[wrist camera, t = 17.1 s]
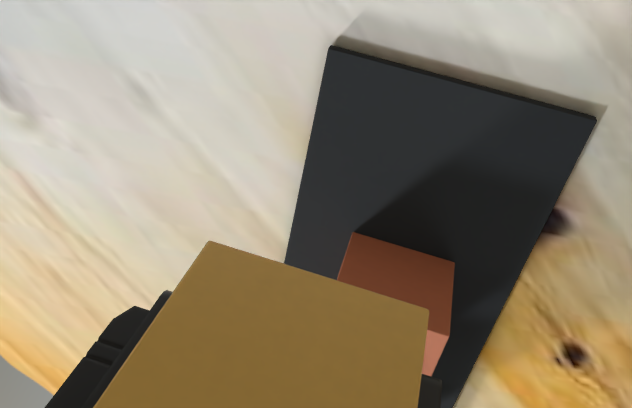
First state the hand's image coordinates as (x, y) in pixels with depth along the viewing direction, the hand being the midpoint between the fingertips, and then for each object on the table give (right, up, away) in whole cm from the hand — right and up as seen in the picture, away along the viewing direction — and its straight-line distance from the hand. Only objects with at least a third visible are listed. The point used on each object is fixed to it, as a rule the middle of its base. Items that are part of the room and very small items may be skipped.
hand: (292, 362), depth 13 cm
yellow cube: (0, 0, 0) cm, 0 cm away
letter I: (+4, 0, +15) cm, 15 cm away
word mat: (+4, 0, +15) cm, 15 cm away
